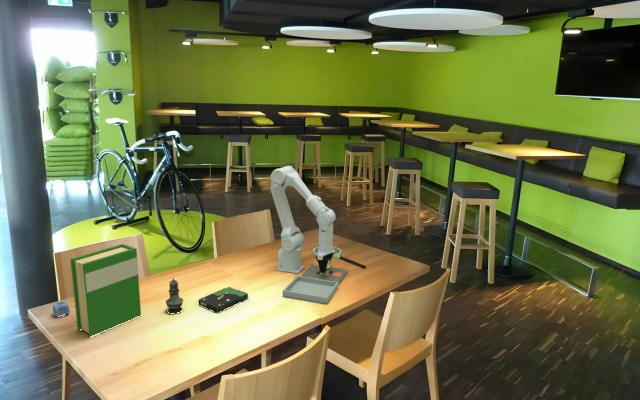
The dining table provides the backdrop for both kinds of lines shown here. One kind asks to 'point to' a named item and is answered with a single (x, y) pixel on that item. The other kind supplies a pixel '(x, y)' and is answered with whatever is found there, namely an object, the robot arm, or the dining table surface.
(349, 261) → the magnifying glass
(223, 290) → the disk drive
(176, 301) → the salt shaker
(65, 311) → the decorative dice
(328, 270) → the fuse
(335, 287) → the parts tray
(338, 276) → the fuse holder
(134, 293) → the hardback book
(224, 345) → the dining table surface
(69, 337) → the dining table surface
